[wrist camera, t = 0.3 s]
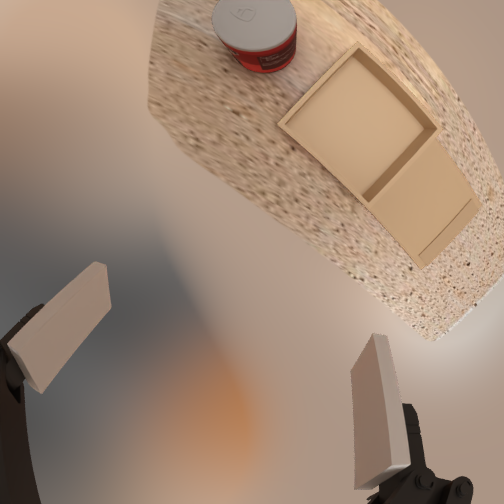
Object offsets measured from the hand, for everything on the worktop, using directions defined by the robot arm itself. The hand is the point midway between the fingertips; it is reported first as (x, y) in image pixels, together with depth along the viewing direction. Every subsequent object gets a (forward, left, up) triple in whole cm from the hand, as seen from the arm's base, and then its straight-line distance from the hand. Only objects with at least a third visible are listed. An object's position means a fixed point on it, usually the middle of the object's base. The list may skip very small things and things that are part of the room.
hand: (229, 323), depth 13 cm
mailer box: (-7, +16, -27) cm, 32 cm away
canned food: (-20, -3, -27) cm, 34 cm away
